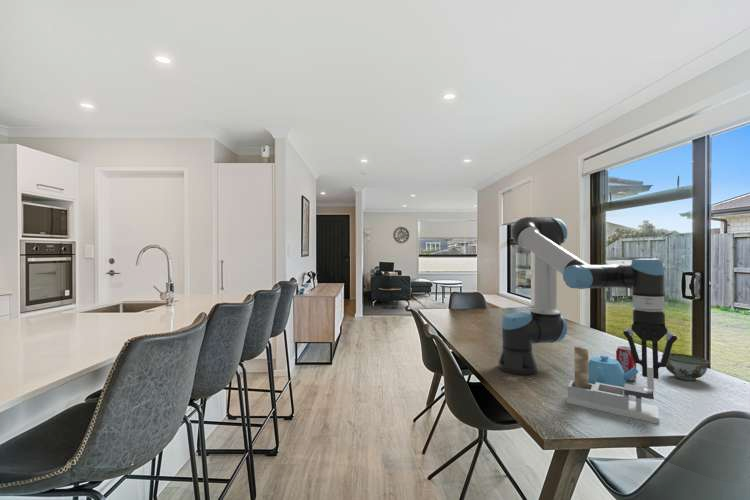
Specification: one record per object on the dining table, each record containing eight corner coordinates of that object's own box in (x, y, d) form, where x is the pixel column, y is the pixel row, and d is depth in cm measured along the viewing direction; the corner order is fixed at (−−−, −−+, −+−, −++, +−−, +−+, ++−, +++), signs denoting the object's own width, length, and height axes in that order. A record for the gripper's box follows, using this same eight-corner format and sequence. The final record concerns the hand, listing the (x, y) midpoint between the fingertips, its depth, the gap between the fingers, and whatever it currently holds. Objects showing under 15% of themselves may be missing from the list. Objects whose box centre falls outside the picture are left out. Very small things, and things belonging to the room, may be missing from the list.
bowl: (660, 378, 133) (660, 358, 133) (663, 370, 143) (662, 351, 143) (710, 387, 124) (709, 365, 124) (708, 378, 133) (708, 357, 133)
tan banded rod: (573, 396, 113) (573, 348, 114) (575, 392, 117) (575, 345, 117) (588, 399, 111) (587, 350, 111) (589, 395, 114) (589, 347, 114)
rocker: (624, 393, 104) (623, 388, 104) (624, 387, 109) (624, 382, 109) (653, 399, 100) (653, 394, 100) (653, 393, 105) (652, 387, 105)
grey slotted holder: (567, 402, 112) (566, 386, 112) (572, 393, 120) (571, 377, 120) (659, 423, 98) (658, 404, 98) (657, 411, 106) (657, 393, 106)
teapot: (595, 394, 118) (594, 361, 119) (573, 380, 132) (573, 350, 132) (640, 394, 118) (639, 361, 118) (613, 380, 132) (613, 350, 132)
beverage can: (640, 382, 129) (639, 350, 130) (621, 381, 131) (620, 349, 131) (631, 376, 136) (630, 346, 136) (613, 375, 137) (612, 345, 137)
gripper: (621, 309, 104) (623, 387, 104) (678, 313, 96) (680, 397, 96) (622, 306, 110) (624, 380, 110) (676, 309, 102) (678, 389, 102)
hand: (650, 388), depth 103 cm, fingers closed
